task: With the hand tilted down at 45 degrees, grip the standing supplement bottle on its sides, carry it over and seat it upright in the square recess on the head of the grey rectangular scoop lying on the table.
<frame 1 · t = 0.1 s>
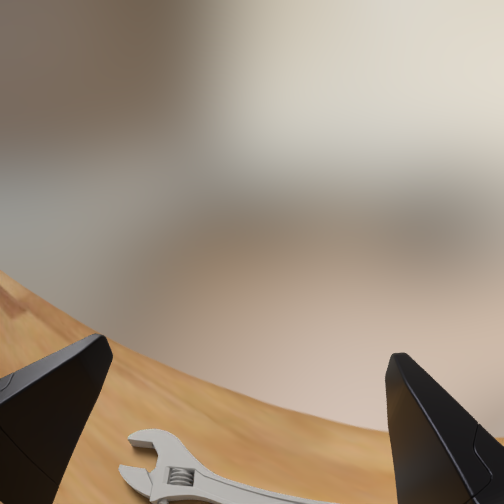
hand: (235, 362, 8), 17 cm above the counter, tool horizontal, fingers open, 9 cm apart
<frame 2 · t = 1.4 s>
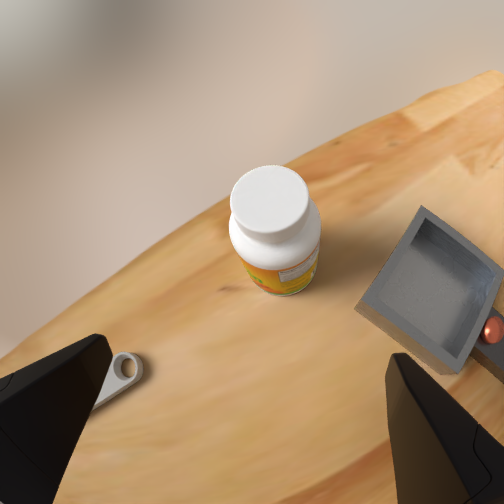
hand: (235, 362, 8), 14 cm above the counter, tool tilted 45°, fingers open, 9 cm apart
grey rectangular scoop: (428, 295, 21), on the counter
supplement bottle: (282, 264, 24), on the counter
adjustable wrench: (61, 426, 21), on the counter
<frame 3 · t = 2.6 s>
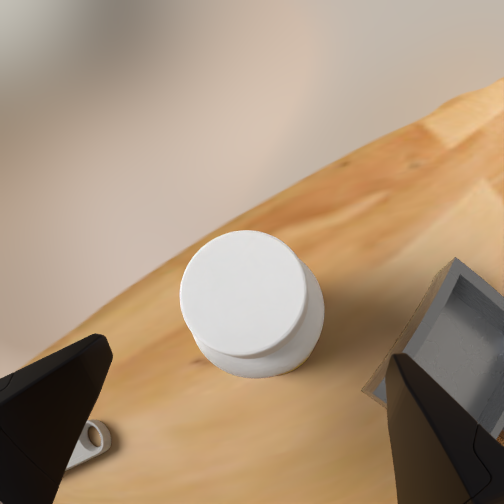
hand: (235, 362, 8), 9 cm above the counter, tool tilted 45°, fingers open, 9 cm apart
grey rectangular scoop: (453, 367, 15), on the counter
supplement bottle: (272, 332, 18), on the counter
adjustable wrench: (36, 479, 15), on the counter
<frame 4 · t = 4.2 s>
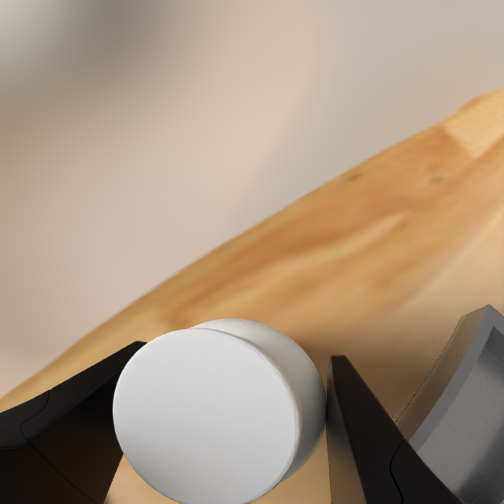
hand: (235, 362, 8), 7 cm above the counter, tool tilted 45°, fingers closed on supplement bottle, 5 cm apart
grey rectangular scoop: (471, 425, 11), on the counter
supplement bottle: (262, 392, 14), on the counter, touching gripper
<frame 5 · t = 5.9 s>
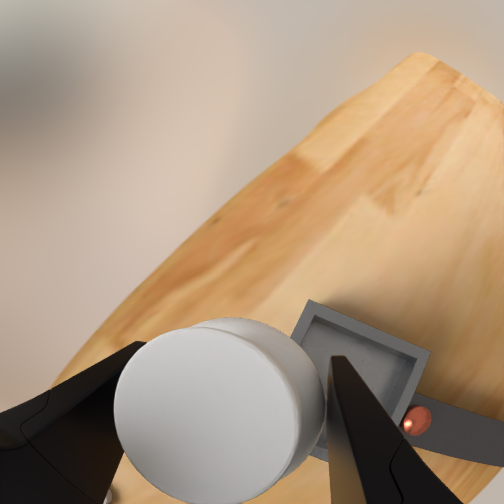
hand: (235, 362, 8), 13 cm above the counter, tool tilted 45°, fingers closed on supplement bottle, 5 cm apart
grey rectangular scoop: (336, 389, 19), on the counter
supplement bottle: (260, 390, 14), point 6 cm above the counter, touching gripper
when the fingers open (8 cm above the counter, at t = 7.8 s): supplement bottle drops 1 cm, resting on grey rectangular scoop.
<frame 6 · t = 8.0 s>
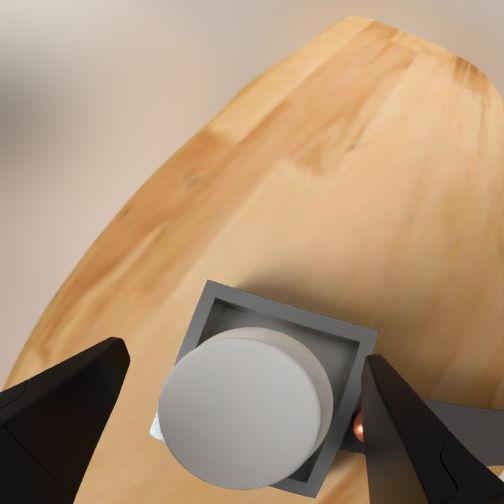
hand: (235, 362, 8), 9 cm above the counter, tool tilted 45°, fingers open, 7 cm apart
grey rectangular scoop: (267, 389, 16), on the counter
supplement bottle: (265, 392, 15), point 1 cm above the counter, touching grey rectangular scoop
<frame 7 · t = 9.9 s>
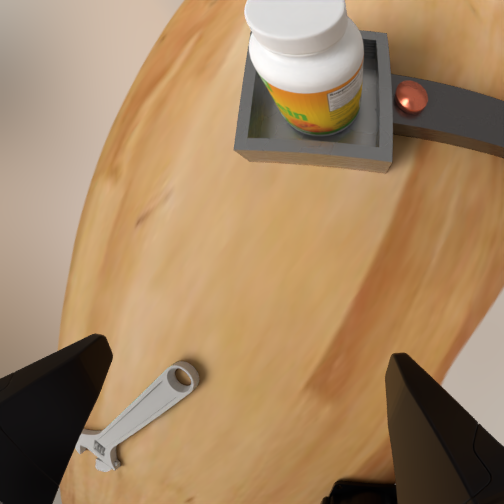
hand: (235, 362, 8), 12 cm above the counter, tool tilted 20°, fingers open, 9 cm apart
grey rectangular scoop: (320, 103, 18), on the counter
supplement bottle: (320, 102, 18), resting on grey rectangular scoop
adjustable wrench: (132, 428, 26), on the counter
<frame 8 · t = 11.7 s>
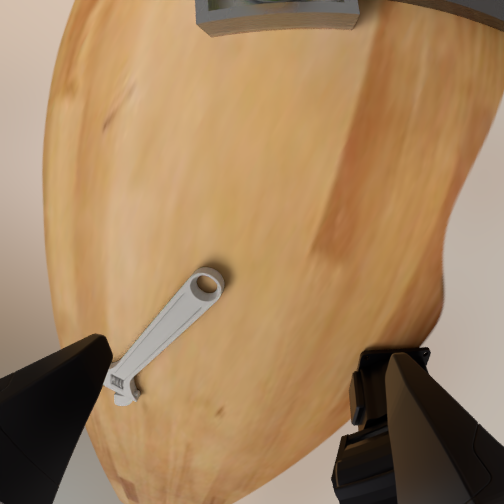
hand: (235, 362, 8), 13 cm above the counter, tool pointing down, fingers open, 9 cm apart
adjustable wrench: (149, 351, 28), on the counter
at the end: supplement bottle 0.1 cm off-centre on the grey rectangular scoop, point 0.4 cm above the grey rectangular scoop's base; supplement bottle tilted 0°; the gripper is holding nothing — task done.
